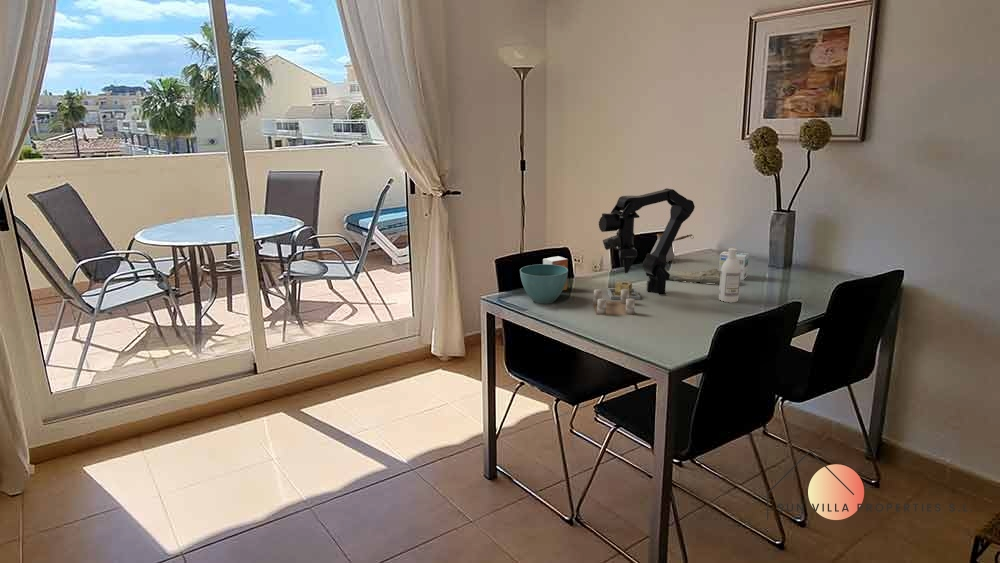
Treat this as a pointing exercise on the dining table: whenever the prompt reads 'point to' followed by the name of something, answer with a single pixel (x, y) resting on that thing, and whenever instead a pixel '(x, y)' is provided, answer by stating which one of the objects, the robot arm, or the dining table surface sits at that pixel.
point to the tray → (620, 296)
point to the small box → (557, 263)
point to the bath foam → (730, 278)
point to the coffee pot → (670, 253)
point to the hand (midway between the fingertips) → (624, 269)
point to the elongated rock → (696, 276)
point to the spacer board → (613, 304)
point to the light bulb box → (742, 261)
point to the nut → (620, 286)
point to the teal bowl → (543, 281)
